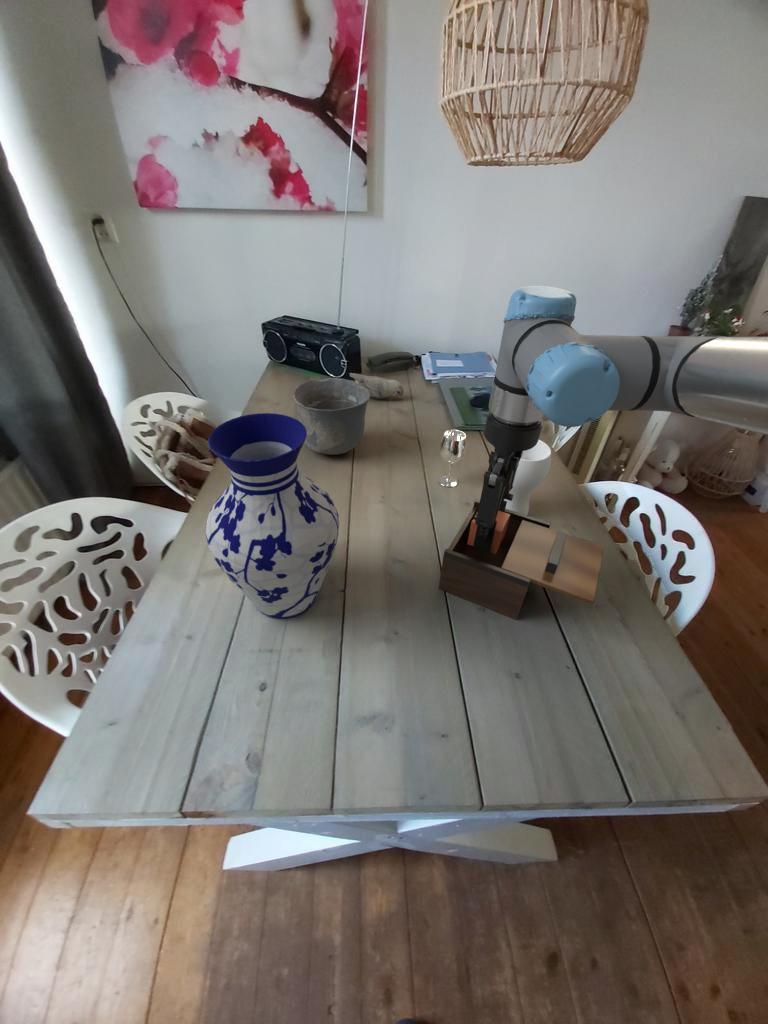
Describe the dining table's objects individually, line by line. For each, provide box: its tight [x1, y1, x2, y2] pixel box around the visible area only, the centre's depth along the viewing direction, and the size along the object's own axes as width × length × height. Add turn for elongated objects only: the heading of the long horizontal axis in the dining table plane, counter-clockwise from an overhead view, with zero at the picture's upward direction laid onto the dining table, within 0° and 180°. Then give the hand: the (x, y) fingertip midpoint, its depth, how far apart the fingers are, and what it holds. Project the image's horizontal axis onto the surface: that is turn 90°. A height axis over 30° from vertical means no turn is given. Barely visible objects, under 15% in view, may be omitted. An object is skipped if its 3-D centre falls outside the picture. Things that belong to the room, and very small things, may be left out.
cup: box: [504, 439, 552, 516], centre depth 88 cm, size 11×11×15 cm
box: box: [438, 499, 552, 621], centre depth 76 cm, size 16×14×9 cm
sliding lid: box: [501, 520, 605, 606], centre depth 69 cm, size 13×14×3 cm
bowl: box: [292, 377, 371, 456], centre depth 105 cm, size 18×18×15 cm
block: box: [467, 511, 510, 554], centre depth 73 cm, size 5×5×5 cm
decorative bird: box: [349, 372, 404, 401], centre depth 131 cm, size 5×16×7 cm, turn 85°
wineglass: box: [438, 429, 468, 488], centre depth 96 cm, size 6×6×12 cm
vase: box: [205, 412, 340, 619], centre depth 65 cm, size 19×19×30 cm
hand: (486, 539), depth 74 cm, fingers closed on block, 5 cm apart
